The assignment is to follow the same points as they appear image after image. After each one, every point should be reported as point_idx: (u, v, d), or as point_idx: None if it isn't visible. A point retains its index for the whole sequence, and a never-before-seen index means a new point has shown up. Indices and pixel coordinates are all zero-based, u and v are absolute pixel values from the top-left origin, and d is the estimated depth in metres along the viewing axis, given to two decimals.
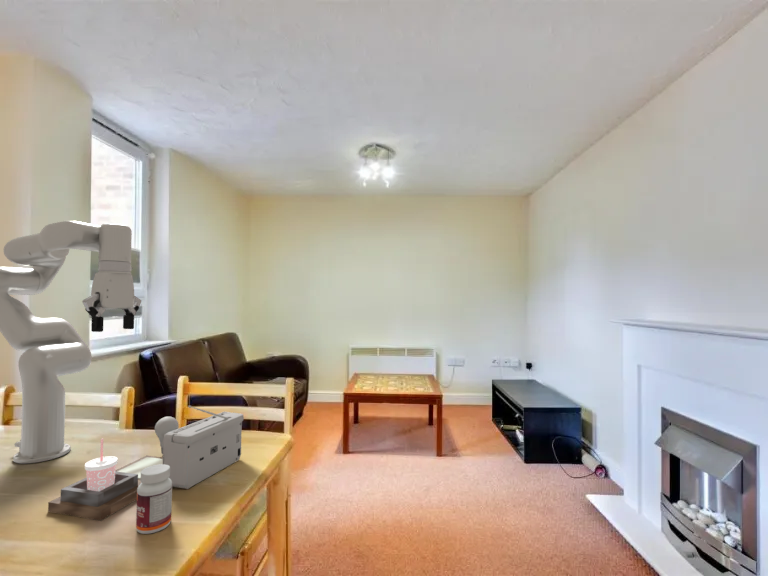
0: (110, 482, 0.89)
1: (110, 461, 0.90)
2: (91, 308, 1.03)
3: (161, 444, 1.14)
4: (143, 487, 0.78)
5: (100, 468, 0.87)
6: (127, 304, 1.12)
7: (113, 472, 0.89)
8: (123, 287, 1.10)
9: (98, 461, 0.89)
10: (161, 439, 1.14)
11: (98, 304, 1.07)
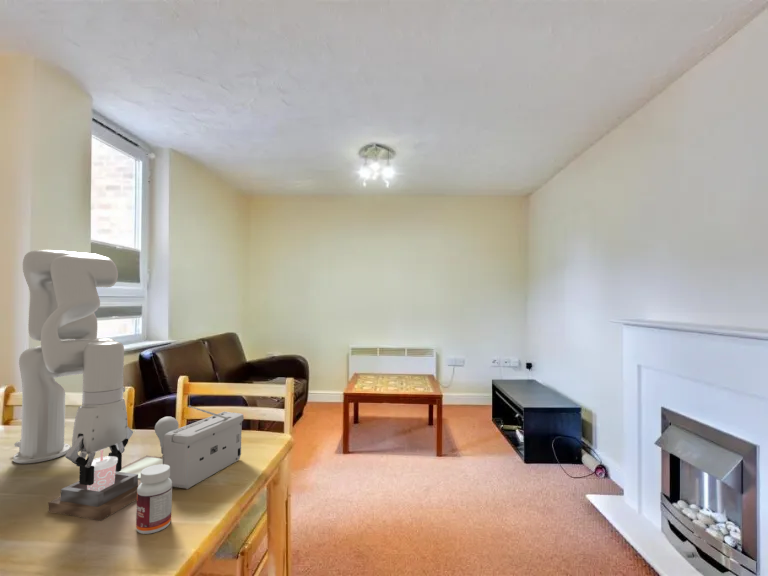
0: (110, 482, 0.89)
1: (110, 461, 0.90)
2: (79, 460, 0.83)
3: (161, 444, 1.14)
4: (143, 487, 0.78)
5: (100, 468, 0.87)
6: (118, 438, 0.91)
7: (113, 472, 0.89)
8: (113, 420, 0.89)
9: (98, 461, 0.89)
10: (161, 439, 1.14)
11: (84, 447, 0.86)
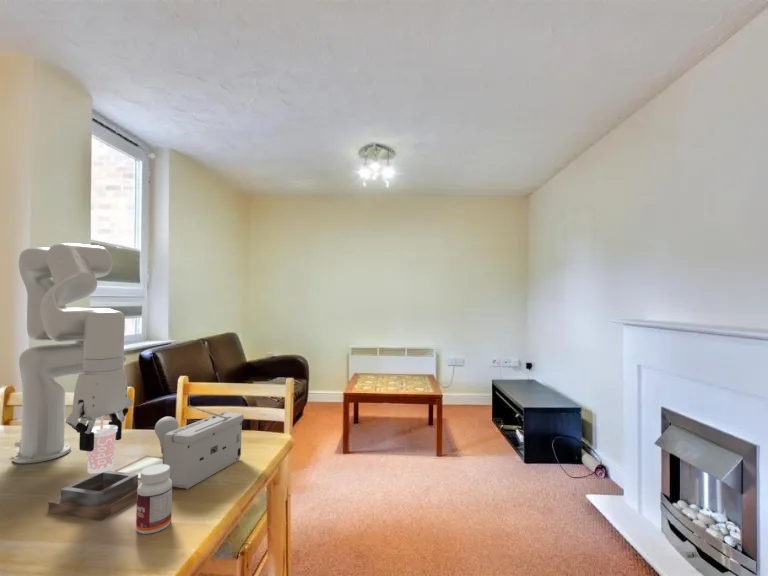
0: (110, 449, 0.89)
1: (110, 429, 0.90)
2: (79, 425, 0.84)
3: (161, 444, 1.14)
4: (143, 487, 0.78)
5: (100, 435, 0.87)
6: (119, 407, 0.92)
7: (113, 440, 0.90)
8: (113, 388, 0.90)
9: (98, 428, 0.89)
10: (161, 439, 1.14)
11: (84, 414, 0.87)
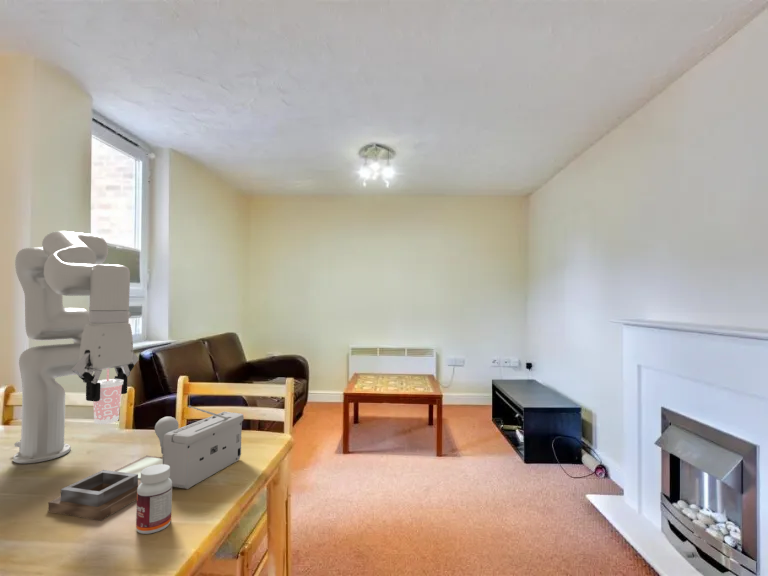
0: (116, 401, 0.90)
1: (116, 381, 0.91)
2: (85, 374, 0.85)
3: (161, 444, 1.14)
4: (143, 487, 0.78)
5: (106, 386, 0.88)
6: (124, 360, 0.93)
7: (119, 392, 0.91)
8: (119, 341, 0.91)
9: (104, 381, 0.90)
10: (161, 439, 1.14)
11: (91, 365, 0.88)
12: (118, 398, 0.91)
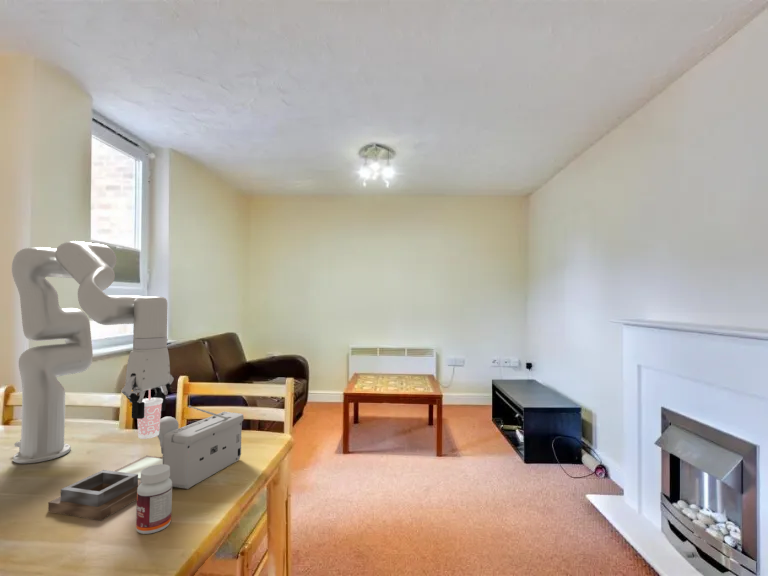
0: (157, 418, 1.02)
1: (157, 400, 1.02)
2: (132, 395, 0.96)
3: (161, 444, 1.14)
4: (143, 487, 0.78)
5: (149, 404, 1.00)
6: (163, 381, 1.04)
7: (159, 410, 1.02)
8: (159, 364, 1.02)
9: (147, 400, 1.02)
10: (161, 439, 1.14)
11: (135, 387, 0.99)
12: (159, 415, 1.02)
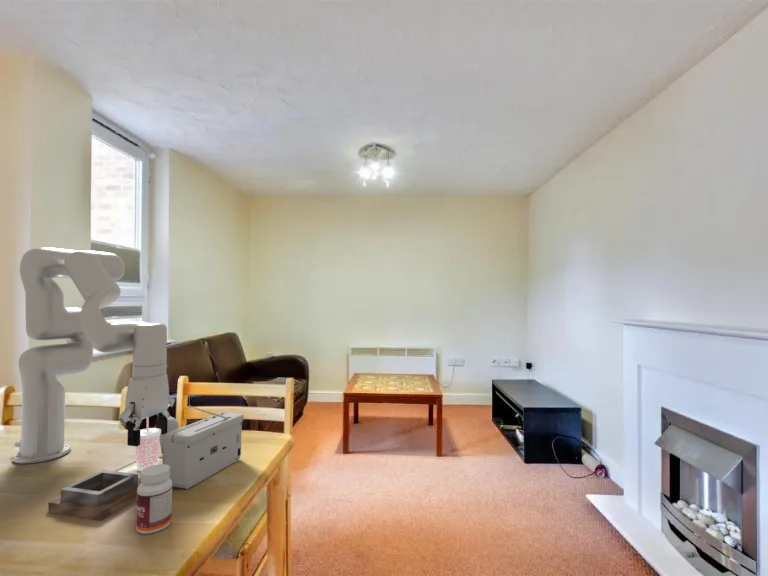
0: (155, 449, 1.01)
1: (155, 431, 1.02)
2: (128, 423, 0.95)
3: (161, 444, 1.14)
4: (143, 487, 0.78)
5: (147, 437, 1.00)
6: (162, 408, 1.04)
7: (157, 441, 1.02)
8: (158, 391, 1.02)
9: (145, 431, 1.02)
10: (161, 439, 1.14)
11: (133, 414, 0.99)
12: (157, 446, 1.02)
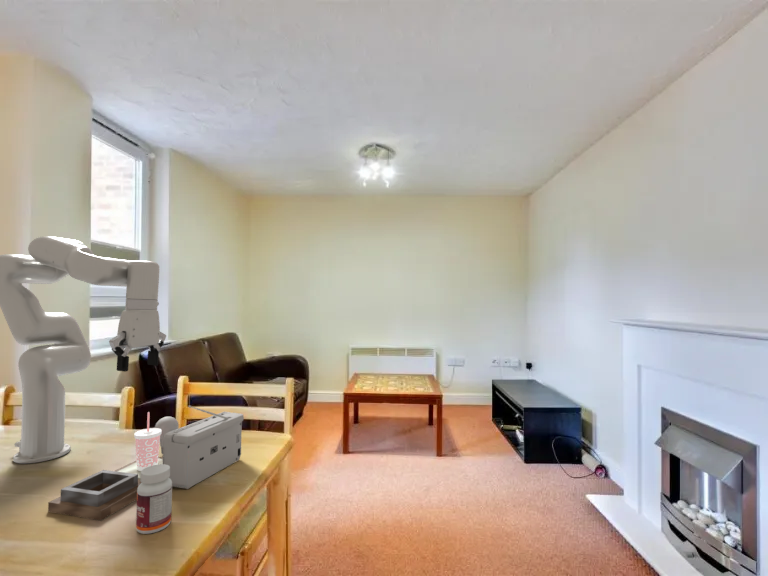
0: (156, 449, 1.01)
1: (155, 432, 1.02)
2: (117, 348, 1.02)
3: (161, 444, 1.14)
4: (143, 487, 0.78)
5: (148, 437, 1.00)
6: (152, 341, 1.11)
7: (158, 441, 1.02)
8: (149, 325, 1.09)
9: (145, 431, 1.02)
10: (161, 439, 1.14)
11: (124, 342, 1.06)
12: (157, 446, 1.02)
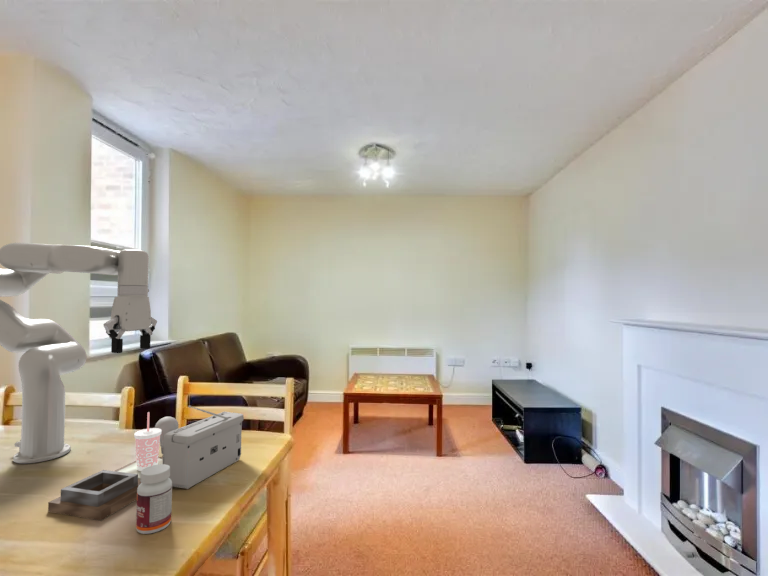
0: (156, 449, 1.01)
1: (155, 432, 1.02)
2: (111, 331, 1.09)
3: (161, 444, 1.14)
4: (143, 487, 0.78)
5: (148, 437, 1.00)
6: (144, 325, 1.18)
7: (158, 441, 1.02)
8: (141, 309, 1.16)
9: (145, 431, 1.02)
10: (161, 439, 1.14)
11: (117, 326, 1.13)
12: (157, 446, 1.02)
